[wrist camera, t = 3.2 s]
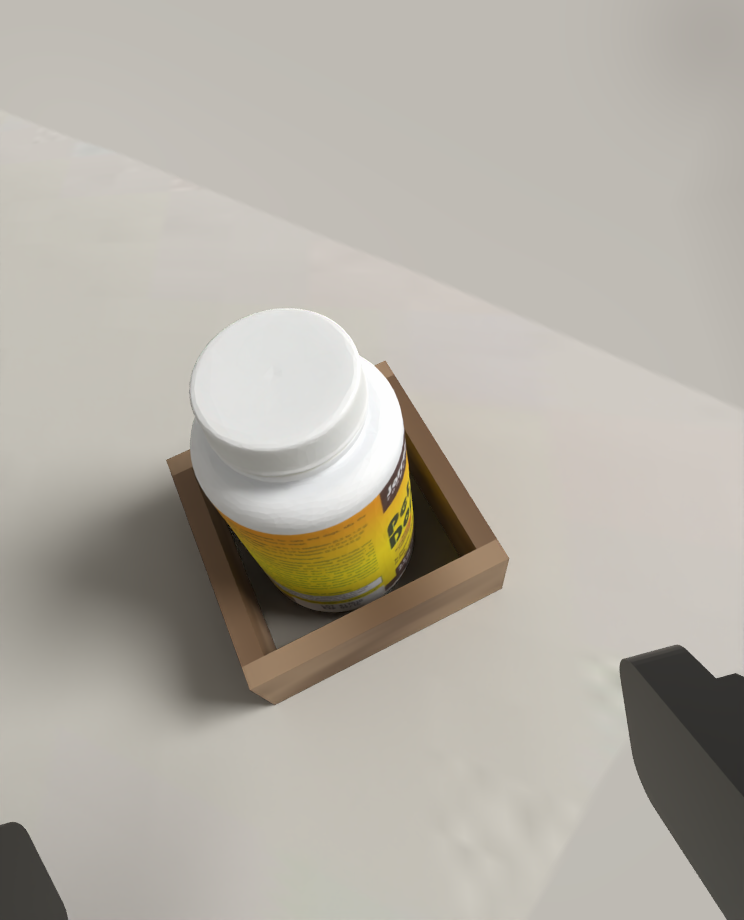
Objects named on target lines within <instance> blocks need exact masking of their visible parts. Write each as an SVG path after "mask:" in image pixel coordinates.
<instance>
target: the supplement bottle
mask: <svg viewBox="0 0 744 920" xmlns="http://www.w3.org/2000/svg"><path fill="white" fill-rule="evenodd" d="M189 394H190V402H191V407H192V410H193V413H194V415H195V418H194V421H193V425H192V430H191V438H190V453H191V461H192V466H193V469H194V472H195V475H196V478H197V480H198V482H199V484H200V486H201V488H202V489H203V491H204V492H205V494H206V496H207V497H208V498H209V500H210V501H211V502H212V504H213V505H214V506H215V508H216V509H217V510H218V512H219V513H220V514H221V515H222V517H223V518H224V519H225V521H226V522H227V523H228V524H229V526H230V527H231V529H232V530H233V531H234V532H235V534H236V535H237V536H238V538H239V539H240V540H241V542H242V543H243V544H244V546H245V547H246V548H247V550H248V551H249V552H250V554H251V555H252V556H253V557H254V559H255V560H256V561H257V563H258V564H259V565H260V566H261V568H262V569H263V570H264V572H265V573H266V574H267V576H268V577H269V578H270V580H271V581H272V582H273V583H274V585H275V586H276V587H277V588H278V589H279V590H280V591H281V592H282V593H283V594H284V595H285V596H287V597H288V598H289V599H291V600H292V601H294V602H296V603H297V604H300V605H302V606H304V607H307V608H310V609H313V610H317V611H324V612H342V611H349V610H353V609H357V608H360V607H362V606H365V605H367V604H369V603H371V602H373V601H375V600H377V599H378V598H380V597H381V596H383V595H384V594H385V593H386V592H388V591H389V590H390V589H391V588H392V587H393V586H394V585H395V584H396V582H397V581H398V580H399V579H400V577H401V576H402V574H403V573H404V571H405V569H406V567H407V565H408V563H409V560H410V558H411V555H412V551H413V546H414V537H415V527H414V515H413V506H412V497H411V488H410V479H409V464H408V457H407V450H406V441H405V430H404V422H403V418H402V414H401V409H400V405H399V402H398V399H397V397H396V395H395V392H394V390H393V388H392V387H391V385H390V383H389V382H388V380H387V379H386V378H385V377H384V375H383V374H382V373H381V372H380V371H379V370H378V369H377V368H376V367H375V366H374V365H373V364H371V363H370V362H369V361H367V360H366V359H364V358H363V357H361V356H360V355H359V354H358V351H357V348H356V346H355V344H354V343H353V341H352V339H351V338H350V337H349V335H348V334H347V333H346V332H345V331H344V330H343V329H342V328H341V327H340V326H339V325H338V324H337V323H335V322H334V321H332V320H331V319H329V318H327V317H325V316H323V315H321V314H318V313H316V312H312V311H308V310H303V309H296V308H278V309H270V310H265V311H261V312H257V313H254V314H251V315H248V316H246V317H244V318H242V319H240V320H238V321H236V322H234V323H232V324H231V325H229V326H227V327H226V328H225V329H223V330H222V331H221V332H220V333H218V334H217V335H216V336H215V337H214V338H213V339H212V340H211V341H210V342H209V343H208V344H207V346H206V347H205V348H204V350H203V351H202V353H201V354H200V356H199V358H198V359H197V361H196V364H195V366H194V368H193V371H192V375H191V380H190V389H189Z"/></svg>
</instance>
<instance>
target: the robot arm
mask: <svg viewBox="0 0 744 920" xmlns="http://www.w3.org/2000/svg"><path fill="white" fill-rule="evenodd" d="M620 678H621V685H622V691H623V698H624V704H625V711H626V717H627V723H628V730H629V736H630V743H631V749H632V755H633V759H634V763H635V766H636V770H637V772H638V775H639V778H640V780H641V783H642V785H643V787H644V789H645V792H646V794H647V796H648V798H649V800H650V802H651V803H652V805H653V807H654V808H655V810H656V811H657V813H658V814H659V816H660V818H661V819H662V820H663V822H664V823H665V825H666V827H667V828H668V830H669V831H670V833H671V834H672V836H673V837H674V839H675V841H676V842H677V844H678V845H679V847H680V848H681V850H682V851H683V853H684V854H685V856H686V858H687V859H688V860H689V862H690V864H691V865H692V867H693V868H694V870H695V871H696V873H697V874H698V876H699V877H700V879H701V881H702V882H703V884H704V885H705V887H706V888H707V890H708V891H709V893H710V894H711V896H712V897H713V899H714V901H715V902H716V904H717V905H718V907H719V908H720V910H721V911H722V913H723V914H724V916H725V917H726V919H727V920H744V677H743V676H741V675H738V674H736V673H735V674H731V675H727V676H724V677H720V678H715V677H714V676H713V675H712V674H711V673H710V672H709V671H708V670H707V669H706V668H705V667H704V666H703V665H702V664H701V663H700V662H699V661H698V660H697V659H695V658H694V657H693V656H692V655H691V654H690V653H689V652H688V651H687V650H686V649H685V648H684V647H682V646H680V645H673V646H670V647H666V648H662V649H659V650H655V651H651V652H647V653H644V654H640V655H636V656H633V657H629V658H625V659H622V660H621V662H620ZM0 920H68V917H67V912H66V909H65V907H64V904H63V902H62V900H61V898H60V896H59V894H58V892H57V890H56V888H55V886H54V884H53V882H52V880H51V878H50V876H49V874H48V872H47V870H46V868H45V866H44V864H43V862H42V860H41V858H40V856H39V854H38V852H37V850H36V848H35V846H34V844H33V842H32V840H31V838H30V836H29V834H28V833H27V831H26V829H25V828H24V827H23V826H22V825H20V824H19V823H16V822H10V823H6V824H2V825H0Z"/></svg>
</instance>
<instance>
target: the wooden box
mask: <svg viewBox="0 0 744 920" xmlns="http://www.w3.org/2000/svg"><path fill="white" fill-rule="evenodd" d="M375 367H376V368H377V369H378V370H379V371H380V372H381V373H382V374H383V375H384V377H385V378H386V379H387V380H388V382H389V383H390V385H391V387H392V388H393V390H394V392H395V395H396V397H397V399H398V402H399V405H400V409H401V414H402V418H403V422H404V430H405V441H406V450H407V457H408V464H409V471H410V472H411V474H412V476H413V477H414V479H415V481H416V483H417V484H418V486H419V488H420V489H421V491H422V493H423V494H424V496H425V498H426V500H427V501H428V503H429V505H430V506H431V508H432V510H433V512H434V513H435V515H436V517H437V518H438V520H439V522H440V524H441V525H442V527H443V529H444V530H445V532H446V534H447V536H448V537H449V539H450V541H451V542H452V544H453V546H454V548H455V549H456V551H457V553H458V554H459V556H460V558H458V559H456V560H454V561H452V562H450V563H448V564H446V565H444V566H442V567H440V568H438V569H436V570H434V571H432V572H430V573H428V574H426V575H424V576H422V577H420V578H418V579H416V580H414V581H412V582H410V583H408V584H406V585H404V586H402V587H400V588H398V589H396V590H394V591H392V592H390V593H389V594H387V595H385V596H383V597H381V598H379V599H377V600H375V601H373V602H371V603H369V604H367V605H365V606H363V607H361V608H359V609H357V610H355V611H353V612H351V613H349V614H347V615H345V616H343V617H341V618H339V619H337V620H335V621H333V622H331V623H329V624H327V625H325V626H323V627H321V628H319V629H317V630H315V631H313V632H311V633H309V634H307V635H305V636H303V637H301V638H299V639H297V640H295V641H293V642H291V643H289V644H287V645H285V646H283V647H281V648H279V649H276V647H275V644H274V642H273V639H272V636H271V634H270V631H269V629H268V626H267V624H266V621H265V619H264V616H263V614H262V611H261V609H260V606H259V604H258V601H257V599H256V596H255V594H254V591H253V589H252V586H251V584H250V581H249V579H248V576H247V573H246V571H245V568H244V566H243V563H242V561H241V558H240V556H239V553H238V551H237V548H236V546H235V543H234V541H233V538H232V536H231V533H230V531H229V528H228V526H227V523H226V521H225V519H224V518H223V517H222V515H221V514H220V513H219V512H218V510H217V509H216V508H215V506H214V505H213V504H212V502H211V501H210V500H209V498H208V497H207V496H206V494H205V492H204V491H203V489H202V488H201V486H200V484H199V482H198V480H197V478H196V475H195V472H194V469H193V466H192V461H191V453H190V449H189V450H187V451H185V452H183V453H181V454H178V455H176V456H174V457H172V458H170V459H167V460H166V461H167V464H168V466H169V469H170V472H171V475H172V477H173V480H174V483H175V486H176V488H177V491H178V494H179V497H180V499H181V502H182V505H183V508H184V510H185V513H186V516H187V519H188V521H189V524H190V527H191V530H192V532H193V535H194V538H195V541H196V543H197V546H198V549H199V552H200V554H201V557H202V560H203V562H204V565H205V568H206V571H207V573H208V576H209V579H210V582H211V584H212V587H213V590H214V593H215V595H216V598H217V601H218V604H219V606H220V609H221V612H222V615H223V617H224V620H225V623H226V626H227V628H228V631H229V634H230V637H231V639H232V642H233V645H234V648H235V650H236V653H237V656H238V659H239V661H240V664H241V667H242V670H243V672H244V675H245V678H246V681H247V683H248V686H249V689H250V691H252V692H254V693H256V694H257V695H259V696H261V697H262V698H264V699H266V700H267V701H269V702H271V703H272V704H274V705H276V704H278V703H280V702H282V701H284V700H286V699H287V698H289V697H291V696H293V695H295V694H297V693H299V692H301V691H303V690H305V689H307V688H309V687H311V686H313V685H315V684H317V683H319V682H321V681H322V680H324V679H326V678H328V677H330V676H332V675H334V674H336V673H338V672H340V671H342V670H344V669H346V668H348V667H350V666H352V665H354V664H356V663H357V662H359V661H361V660H363V659H365V658H367V657H369V656H371V655H373V654H375V653H377V652H379V651H381V650H383V649H385V648H387V647H389V646H391V645H392V644H394V643H396V642H398V641H400V640H402V639H404V638H406V637H408V636H410V635H412V634H414V633H416V632H418V631H420V630H422V629H424V628H426V627H427V626H429V625H431V624H433V623H435V622H437V621H439V620H441V619H443V618H445V617H447V616H449V615H451V614H453V613H455V612H457V611H459V610H461V609H462V608H464V607H466V606H468V605H470V604H472V603H474V602H476V601H478V600H480V599H482V598H484V597H486V596H488V595H490V594H492V593H494V592H496V591H497V590H499V589H501V588H502V586H503V581H504V577H505V573H506V569H507V565H508V561H509V557H508V556H507V554H506V553H505V551H504V549H503V548H502V546H501V545H500V543H499V541H498V540H497V538H496V537H495V535H494V533H493V532H492V530H491V529H490V527H489V525H488V524H487V522H486V521H485V519H484V517H483V516H482V514H481V513H480V511H479V509H478V508H477V506H476V505H475V503H474V501H473V500H472V498H471V497H470V495H469V493H468V492H467V490H466V489H465V487H464V485H463V484H462V482H461V481H460V479H459V477H458V476H457V474H456V473H455V471H454V469H453V468H452V466H451V465H450V463H449V461H448V460H447V458H446V457H445V455H444V453H443V452H442V450H441V449H440V447H439V445H438V444H437V442H436V441H435V439H434V437H433V436H432V434H431V433H430V431H429V429H428V428H427V426H426V425H425V423H424V421H423V420H422V418H421V417H420V415H419V413H418V412H417V410H416V409H415V407H414V405H413V404H412V402H411V401H410V399H409V397H408V396H407V394H406V393H405V391H404V389H403V388H402V386H401V385H400V383H399V382H398V380H397V378H396V377H395V375H394V374H393V372H392V370H391V369H390V367H389V366H388V364H387V362H386V361H383V362H381V363H379V364H377V365H375Z"/></svg>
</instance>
